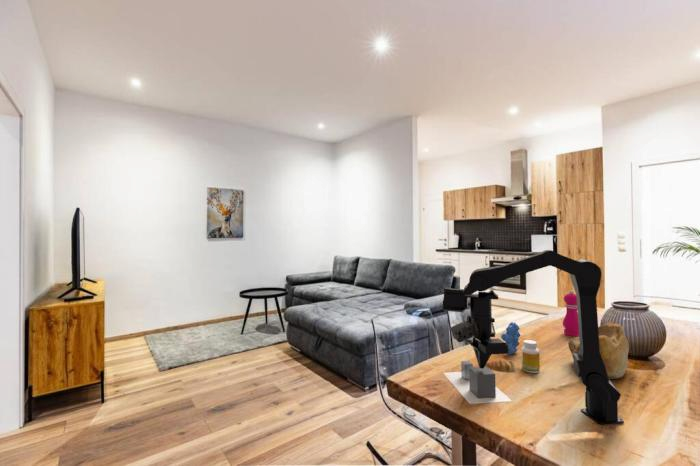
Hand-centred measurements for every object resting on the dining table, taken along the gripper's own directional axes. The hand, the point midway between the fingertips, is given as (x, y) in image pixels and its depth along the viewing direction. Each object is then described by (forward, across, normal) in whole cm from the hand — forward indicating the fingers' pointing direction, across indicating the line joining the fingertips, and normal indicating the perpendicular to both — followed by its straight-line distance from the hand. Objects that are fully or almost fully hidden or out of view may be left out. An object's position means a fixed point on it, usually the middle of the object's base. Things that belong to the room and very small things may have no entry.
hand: (481, 367), depth 96 cm
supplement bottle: (+9, -16, +25) cm, 31 cm away
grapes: (+9, -32, +27) cm, 43 cm away
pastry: (+9, -17, +15) cm, 24 cm away
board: (+9, -5, 0) cm, 10 cm away
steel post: (+7, -10, 0) cm, 12 cm away
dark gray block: (+7, 0, 0) cm, 7 cm away
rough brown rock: (+9, -15, +48) cm, 51 cm away
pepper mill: (+9, -50, +67) cm, 84 cm away
